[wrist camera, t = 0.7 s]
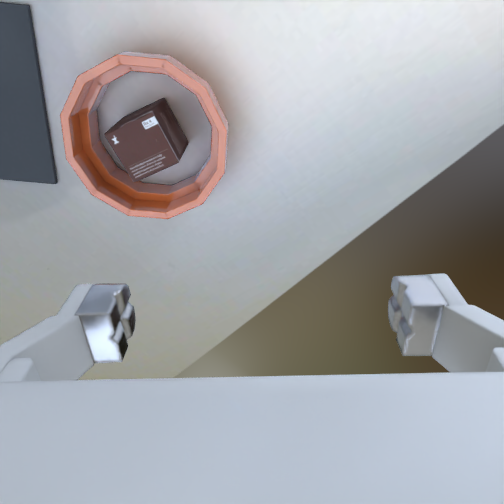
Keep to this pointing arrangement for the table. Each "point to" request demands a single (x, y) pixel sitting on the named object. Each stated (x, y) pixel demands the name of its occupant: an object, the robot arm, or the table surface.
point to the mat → (22, 102)
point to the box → (148, 140)
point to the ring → (101, 164)
